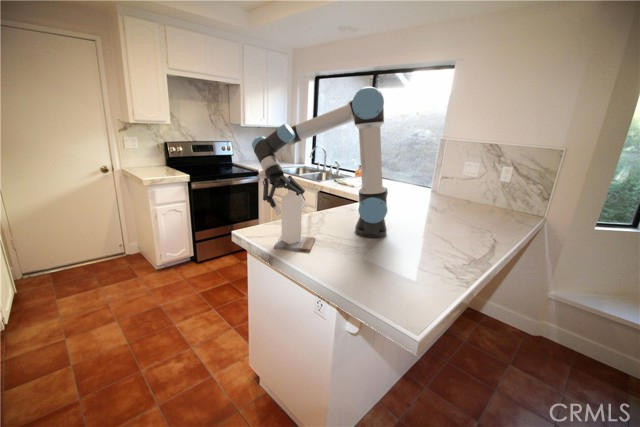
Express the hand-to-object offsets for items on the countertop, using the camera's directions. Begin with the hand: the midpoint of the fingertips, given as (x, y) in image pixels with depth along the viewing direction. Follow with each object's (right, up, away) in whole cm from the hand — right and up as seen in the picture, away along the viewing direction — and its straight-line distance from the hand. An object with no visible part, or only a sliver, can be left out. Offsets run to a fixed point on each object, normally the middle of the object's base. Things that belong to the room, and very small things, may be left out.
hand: (292, 210), depth 124 cm
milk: (-1, -13, +5) cm, 14 cm away
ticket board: (+1, -14, +5) cm, 15 cm away
